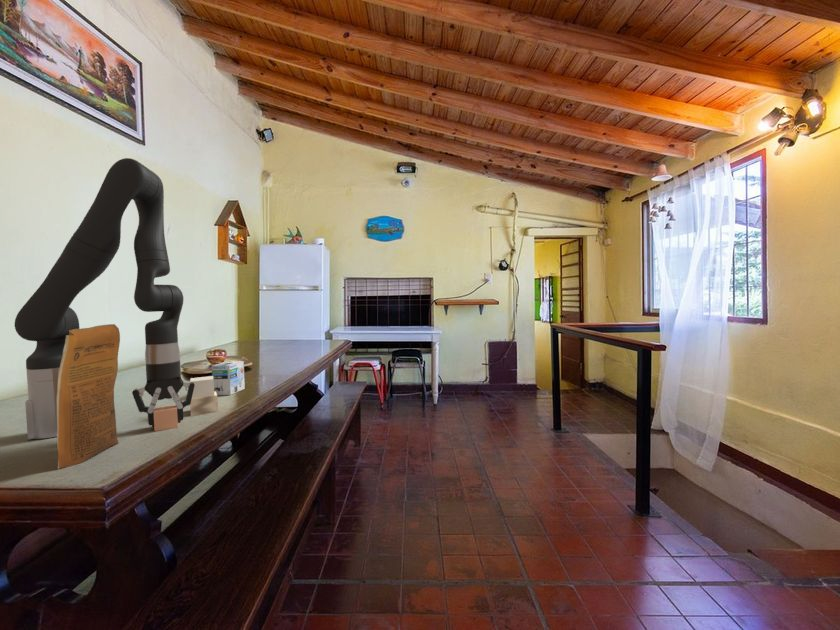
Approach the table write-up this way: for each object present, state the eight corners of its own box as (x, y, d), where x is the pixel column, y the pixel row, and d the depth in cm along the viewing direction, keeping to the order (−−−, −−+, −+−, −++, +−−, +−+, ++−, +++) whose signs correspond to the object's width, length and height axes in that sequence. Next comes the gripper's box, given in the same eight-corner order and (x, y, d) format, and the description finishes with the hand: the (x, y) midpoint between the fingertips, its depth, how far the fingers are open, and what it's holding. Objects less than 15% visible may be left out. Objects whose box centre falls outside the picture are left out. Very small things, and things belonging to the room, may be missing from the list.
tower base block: (190, 416, 109) (189, 399, 109) (190, 410, 115) (189, 394, 115) (218, 412, 113) (217, 395, 112) (216, 406, 118) (215, 391, 118)
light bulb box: (230, 395, 132) (229, 365, 132) (212, 396, 133) (210, 365, 132) (245, 388, 143) (244, 360, 143) (228, 388, 143) (226, 360, 143)
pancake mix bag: (137, 436, 93) (131, 323, 92) (77, 470, 74) (68, 328, 73) (107, 438, 92) (100, 324, 91) (38, 473, 73) (29, 329, 72)
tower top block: (190, 398, 109) (190, 381, 109) (191, 394, 114) (190, 378, 114) (214, 395, 112) (213, 379, 112) (213, 391, 118) (212, 375, 117)
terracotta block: (154, 431, 96) (153, 411, 96) (155, 426, 100) (154, 407, 100) (177, 427, 99) (176, 408, 99) (178, 422, 103) (177, 404, 103)
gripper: (126, 365, 92) (131, 434, 93) (195, 359, 99) (198, 422, 100) (130, 361, 98) (134, 426, 99) (194, 356, 106) (197, 415, 106)
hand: (166, 424), depth 100 cm, fingers closed on terracotta block, 5 cm apart
